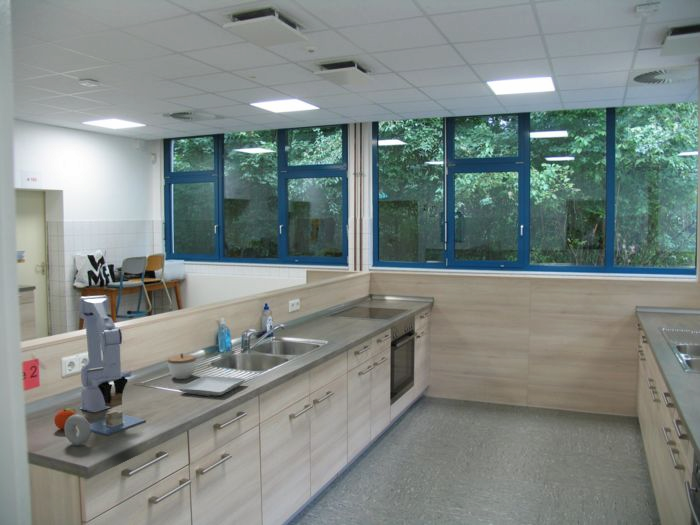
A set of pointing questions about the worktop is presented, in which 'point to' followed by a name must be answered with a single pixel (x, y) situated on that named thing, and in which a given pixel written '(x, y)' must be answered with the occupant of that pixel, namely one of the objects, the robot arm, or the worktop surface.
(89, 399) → the robot arm
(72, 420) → the donut
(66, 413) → the clementine
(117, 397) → the walnut block
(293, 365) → the worktop surface
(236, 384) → the salad plate
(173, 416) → the worktop surface
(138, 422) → the board
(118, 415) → the maple block
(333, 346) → the worktop surface
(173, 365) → the lidded bowl
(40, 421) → the worktop surface
